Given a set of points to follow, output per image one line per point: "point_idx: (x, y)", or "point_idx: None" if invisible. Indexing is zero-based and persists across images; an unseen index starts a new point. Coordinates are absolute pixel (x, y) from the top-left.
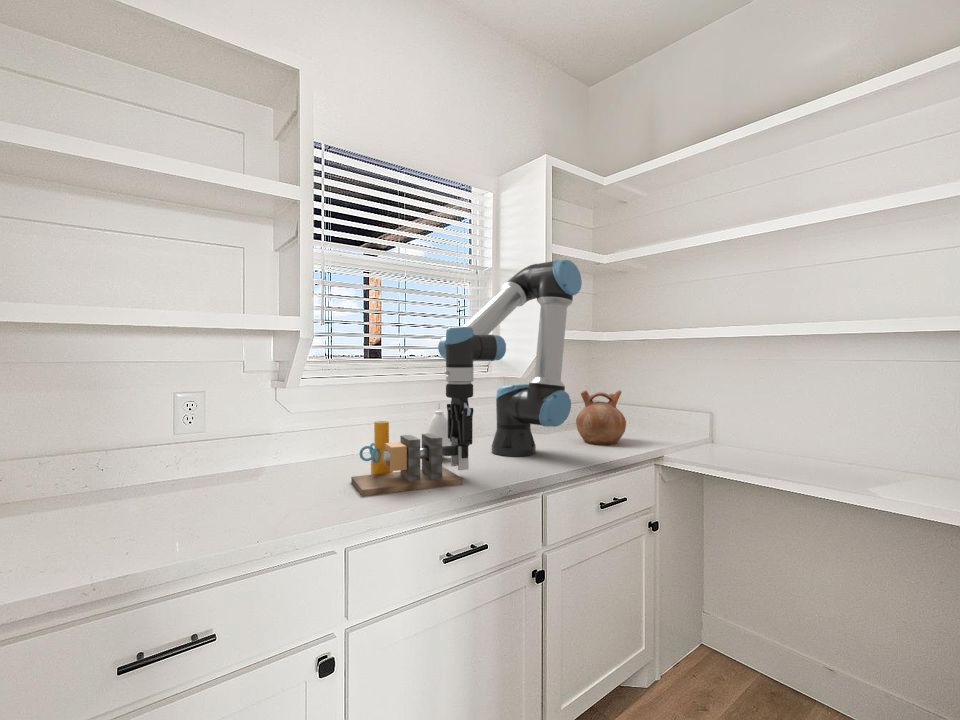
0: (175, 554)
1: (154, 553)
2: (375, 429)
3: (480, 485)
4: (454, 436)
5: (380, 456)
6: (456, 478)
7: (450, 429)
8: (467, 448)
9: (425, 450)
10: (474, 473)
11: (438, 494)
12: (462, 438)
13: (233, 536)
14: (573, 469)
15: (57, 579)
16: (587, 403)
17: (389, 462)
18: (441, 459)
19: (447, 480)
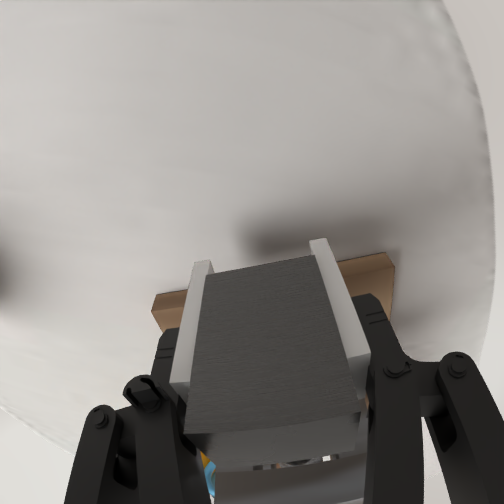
0: (436, 462)
1: (425, 469)
2: None
3: (431, 186)
4: (222, 460)
5: (211, 476)
6: (383, 289)
7: (136, 497)
8: (399, 346)
9: (318, 462)
10: (191, 156)
11: (444, 328)
12: (434, 437)
13: (426, 458)
14: None
15: (432, 473)
16: None
17: (279, 465)
18: (364, 398)
19: (389, 318)
